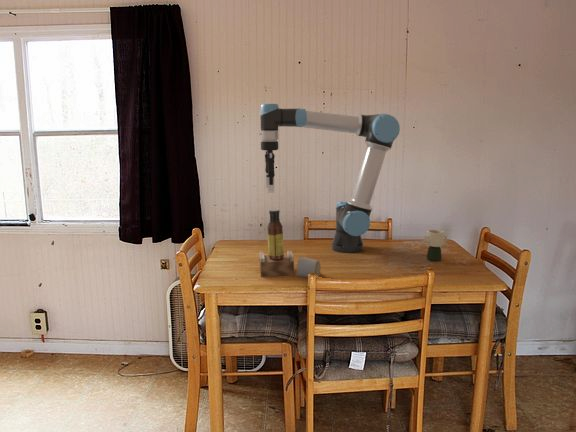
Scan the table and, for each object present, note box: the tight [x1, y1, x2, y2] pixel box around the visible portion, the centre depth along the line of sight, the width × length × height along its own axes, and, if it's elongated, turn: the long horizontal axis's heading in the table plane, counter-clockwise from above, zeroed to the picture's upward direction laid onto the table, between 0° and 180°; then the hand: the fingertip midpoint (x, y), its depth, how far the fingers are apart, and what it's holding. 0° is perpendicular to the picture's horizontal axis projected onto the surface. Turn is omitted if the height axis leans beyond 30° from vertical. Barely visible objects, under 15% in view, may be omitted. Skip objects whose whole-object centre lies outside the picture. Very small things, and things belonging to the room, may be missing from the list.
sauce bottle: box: [267, 208, 285, 260], centre depth 194 cm, size 7×6×20 cm
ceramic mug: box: [296, 256, 321, 278], centre depth 193 cm, size 11×8×8 cm
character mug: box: [422, 229, 448, 261], centre depth 214 cm, size 11×7×13 cm, turn 98°
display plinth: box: [259, 250, 295, 278], centre depth 196 cm, size 13×10×8 cm
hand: (269, 190), depth 211 cm, fingers open, 13 cm apart
